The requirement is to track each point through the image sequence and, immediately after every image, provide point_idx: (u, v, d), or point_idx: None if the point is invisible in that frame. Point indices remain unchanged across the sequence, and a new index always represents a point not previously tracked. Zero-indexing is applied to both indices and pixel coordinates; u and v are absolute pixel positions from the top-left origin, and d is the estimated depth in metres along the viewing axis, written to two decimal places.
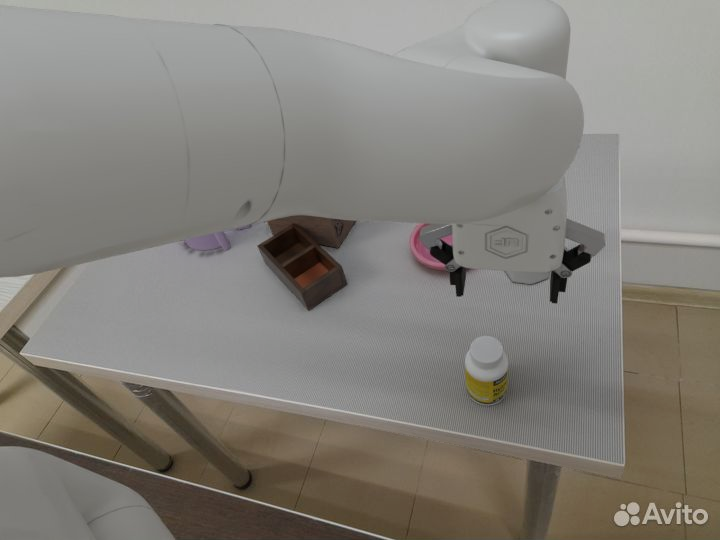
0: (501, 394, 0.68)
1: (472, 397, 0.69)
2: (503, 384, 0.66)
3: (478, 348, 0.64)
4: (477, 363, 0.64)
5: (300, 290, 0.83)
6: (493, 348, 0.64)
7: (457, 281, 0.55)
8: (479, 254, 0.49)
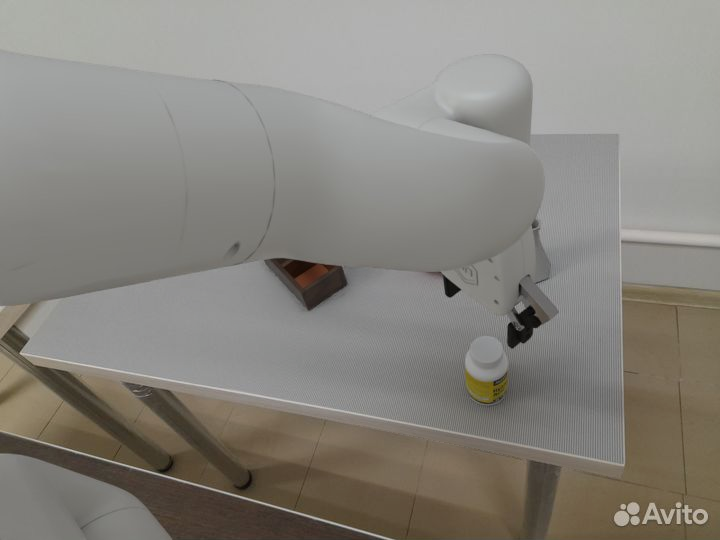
0: (501, 394, 0.68)
1: (472, 397, 0.69)
2: (503, 384, 0.66)
3: (478, 348, 0.64)
4: (477, 363, 0.64)
5: (300, 290, 0.83)
6: (493, 348, 0.64)
7: (444, 282, 0.60)
8: None
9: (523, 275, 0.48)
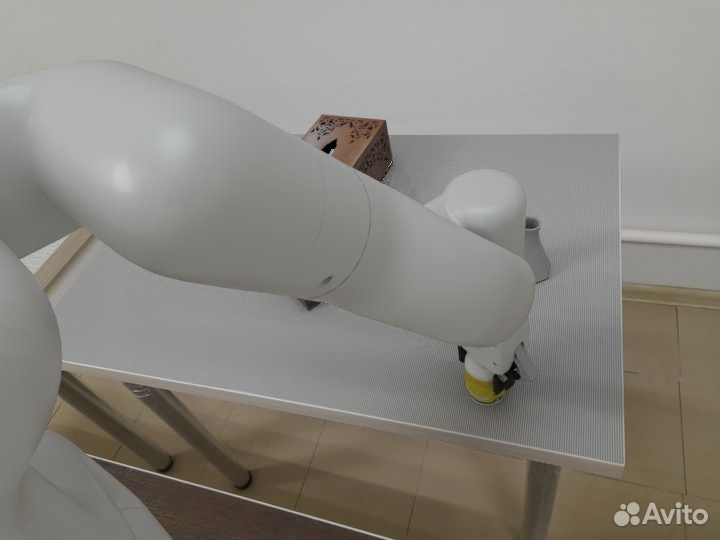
0: (501, 394, 0.68)
1: (472, 397, 0.69)
2: None
3: None
4: (477, 363, 0.64)
5: None
6: None
7: (459, 351, 0.67)
8: None
9: (518, 343, 0.56)
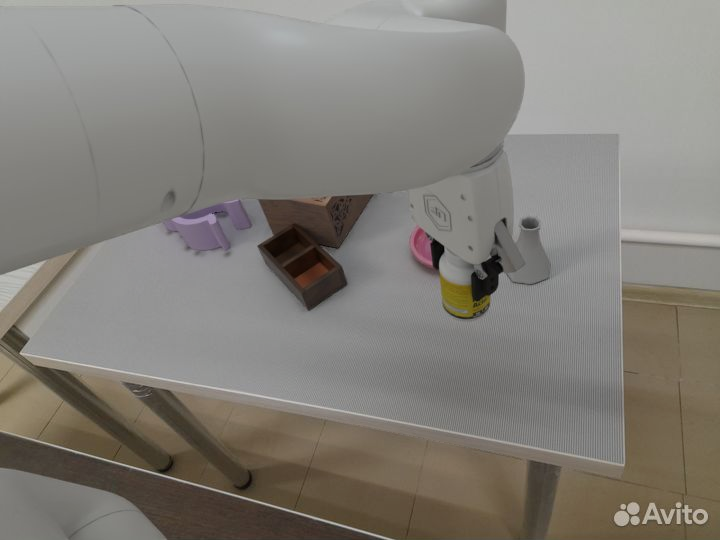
0: (483, 306, 0.57)
1: (448, 312, 0.58)
2: None
3: None
4: (452, 260, 0.52)
5: (300, 290, 0.83)
6: None
7: (432, 252, 0.56)
8: (422, 215, 0.50)
9: (499, 217, 0.45)
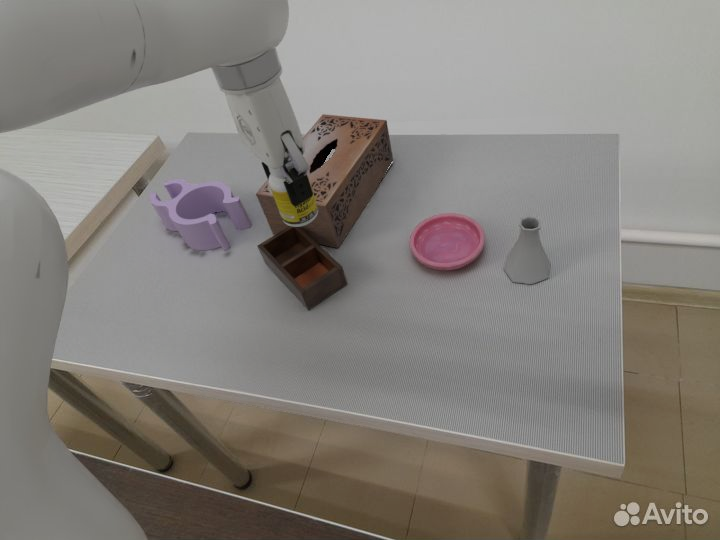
0: (307, 213, 0.72)
1: (283, 219, 0.74)
2: None
3: None
4: (272, 172, 0.68)
5: (300, 290, 0.83)
6: None
7: (264, 170, 0.71)
8: (243, 135, 0.66)
9: (283, 129, 0.60)
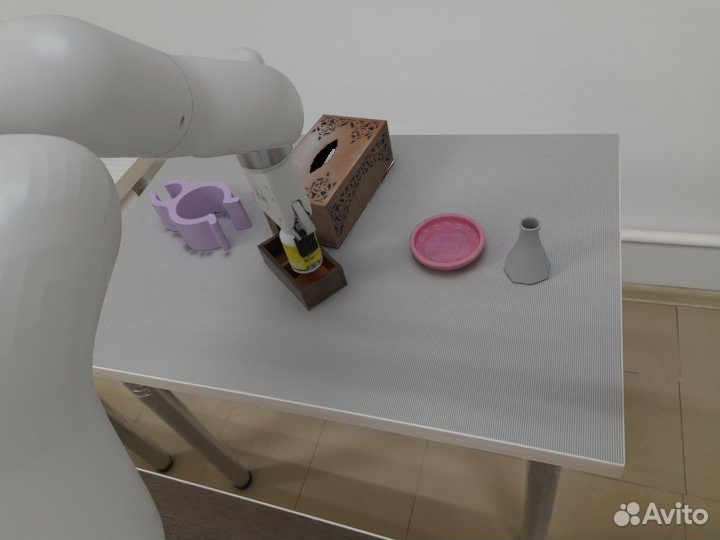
0: (313, 262, 0.83)
1: (292, 266, 0.84)
2: None
3: None
4: (283, 229, 0.78)
5: (300, 290, 0.83)
6: None
7: (276, 225, 0.82)
8: (258, 199, 0.76)
9: (293, 199, 0.71)
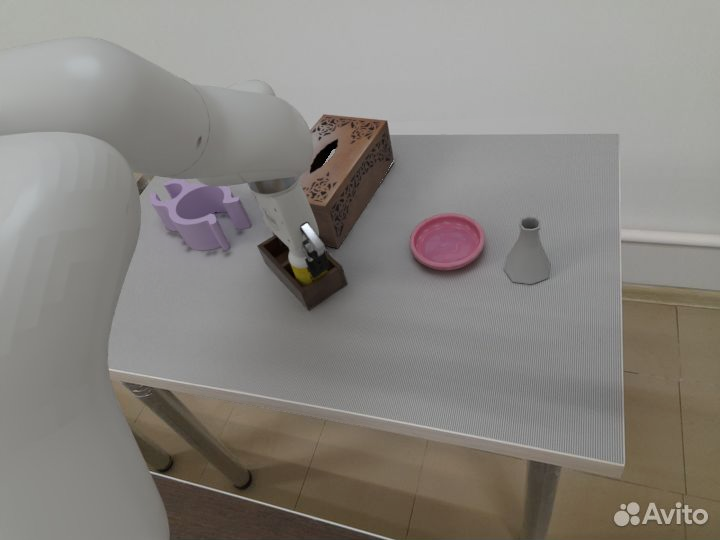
0: None
1: None
2: None
3: None
4: (292, 252, 0.82)
5: (300, 290, 0.83)
6: None
7: None
8: (267, 220, 0.79)
9: (302, 221, 0.74)
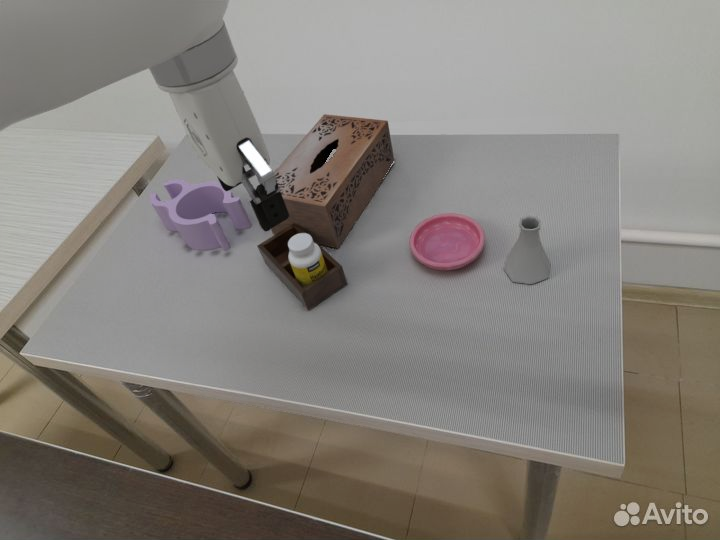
0: None
1: None
2: (318, 272, 0.85)
3: (294, 241, 0.82)
4: (292, 252, 0.82)
5: (300, 290, 0.83)
6: (305, 241, 0.82)
7: None
8: (193, 143, 0.53)
9: (239, 137, 0.47)
